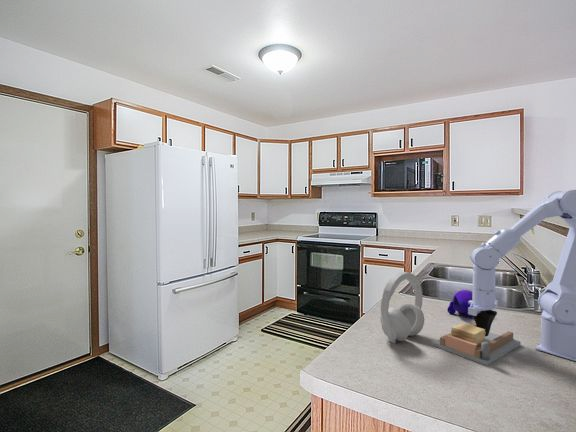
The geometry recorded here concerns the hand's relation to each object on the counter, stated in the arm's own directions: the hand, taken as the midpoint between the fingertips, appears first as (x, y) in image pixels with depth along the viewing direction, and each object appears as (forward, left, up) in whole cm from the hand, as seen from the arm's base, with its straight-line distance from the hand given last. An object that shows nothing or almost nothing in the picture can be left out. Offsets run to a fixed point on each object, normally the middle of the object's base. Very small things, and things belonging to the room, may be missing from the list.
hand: (483, 334), depth 93 cm
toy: (+16, -20, -3) cm, 26 cm away
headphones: (+16, +17, -2) cm, 23 cm away
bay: (0, +4, -2) cm, 4 cm away
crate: (0, +9, -1) cm, 9 cm away
